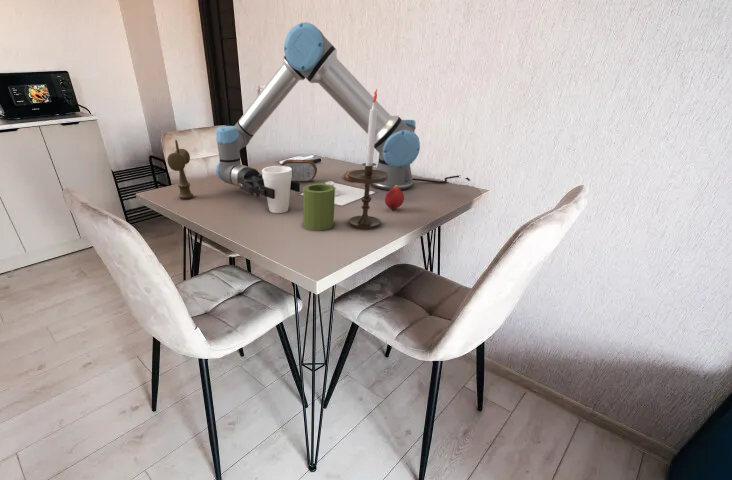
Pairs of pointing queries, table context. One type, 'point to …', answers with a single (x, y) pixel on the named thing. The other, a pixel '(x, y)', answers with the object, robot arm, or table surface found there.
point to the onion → (394, 198)
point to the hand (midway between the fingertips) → (286, 190)
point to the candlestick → (368, 176)
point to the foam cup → (278, 187)
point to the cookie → (347, 175)
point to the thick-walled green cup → (318, 206)
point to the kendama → (180, 170)
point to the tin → (301, 170)
